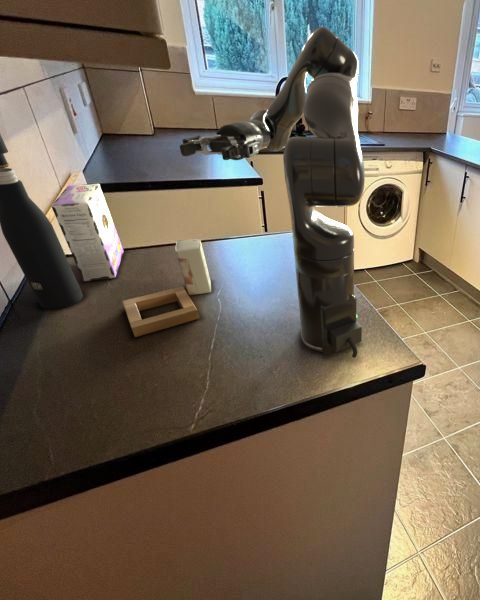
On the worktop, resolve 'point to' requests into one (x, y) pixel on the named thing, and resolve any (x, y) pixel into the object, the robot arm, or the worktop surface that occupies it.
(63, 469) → the worktop surface
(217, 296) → the worktop surface
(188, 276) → the white tall rectangular block
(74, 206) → the candy box
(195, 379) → the worktop surface
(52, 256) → the dark grey bottle
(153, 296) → the frame
